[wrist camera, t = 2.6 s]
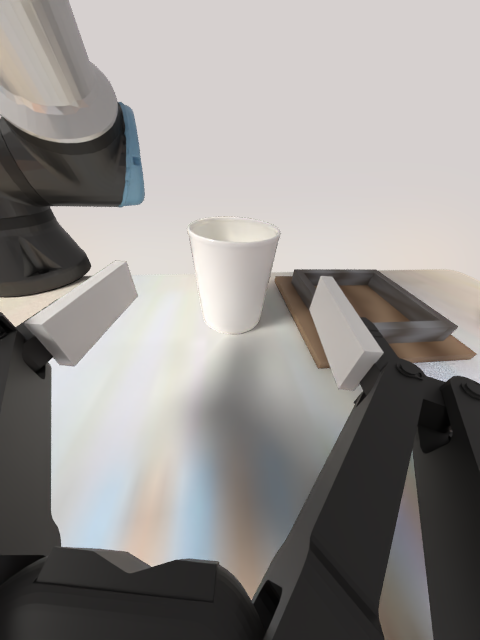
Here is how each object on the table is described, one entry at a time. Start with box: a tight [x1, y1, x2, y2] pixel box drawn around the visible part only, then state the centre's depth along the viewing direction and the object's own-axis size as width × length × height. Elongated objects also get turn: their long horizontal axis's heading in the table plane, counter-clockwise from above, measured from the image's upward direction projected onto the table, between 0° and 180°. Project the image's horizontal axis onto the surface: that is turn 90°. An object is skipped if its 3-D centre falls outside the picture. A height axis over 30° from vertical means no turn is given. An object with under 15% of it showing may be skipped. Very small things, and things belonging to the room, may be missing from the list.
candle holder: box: [187, 217, 280, 334], centre depth 24 cm, size 10×10×12 cm
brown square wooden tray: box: [275, 270, 476, 369], centre depth 29 cm, size 20×20×4 cm
